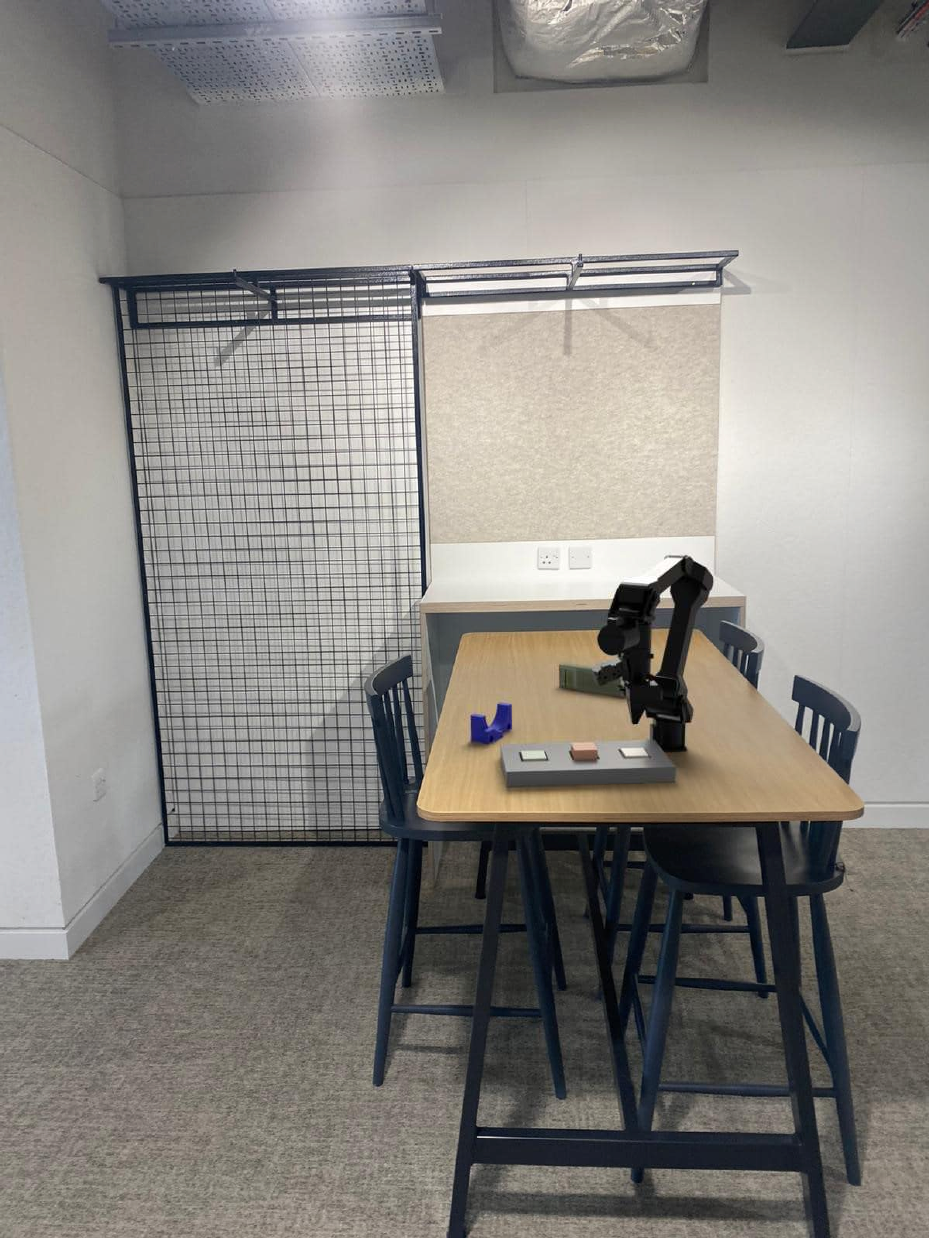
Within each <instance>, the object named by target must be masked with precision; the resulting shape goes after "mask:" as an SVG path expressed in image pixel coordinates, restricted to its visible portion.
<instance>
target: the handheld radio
mask: <svg viewBox="0 0 929 1238" xmlns="http://www.w3.org/2000/svg"><path fill="white" fill-rule="evenodd" d="M591 666H592V665H583V664H575V663H569V662H568V663H567V662H560V663H559V664H558V677H559V678H558V680H559V682H558V683H559V686H558V687H560V688H564V689H571V690H578V691H584V692H590V693H591V692H592V693H597V694H603V695H611V696H616V697H623V698H624V697H625V696H624V695H623V694H622V692H621V691H620V690H619V689H618V687H617V685H621V679H620V678H619V679H617V680H614V681H611V682H609V683H607V684H606V685H603V686H598V684H597V682H596V681H595V678H594V675H593V673H592V670H591ZM625 698H626V697H625Z"/></svg>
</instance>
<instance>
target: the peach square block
mask: <svg viewBox="0 0 929 1238" xmlns="http://www.w3.org/2000/svg"><path fill="white" fill-rule="evenodd" d="M585 742H586V743H571V754H572V756H573V758H574V760H593V759H598V750H597V748H596V746H595V744H594V742H593V741H585Z"/></svg>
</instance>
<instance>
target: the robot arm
mask: <svg viewBox="0 0 929 1238" xmlns="http://www.w3.org/2000/svg"><path fill="white" fill-rule="evenodd" d="M714 580H715V579H714V576H713V574H712V573H711V572H710V570H709V569H708V567H706V566H704V565H702V564H700V563H698V562H697V561H695V560H694V559H693V558H692V556H689V555H687V554H677V553H676V554H675V553H670V554H668V555H667V554H666V555H665V557H664V558H663V560H661V562H659V563H658V564H657V565H655V566H654V567H653V568H651V569H650V570H649V571H647V572H646V573H644V575H641V576H637V577H629V578H628V579H625V580H622V581H621V582H620V583H619V584H618V587H617V588H616V590H615V593H614V595H613V599H612V601H611V604H610V606H609V610H608V612H607V619H606V625H604V626H603V627H601V629H600V630H599V632H598V634H597V636H596V637H597V638H596V641H597V645H598V648H599V649H600V650H601V652H602V653H604V654H605V655H607V656H612V658H609V659H606V660H604V661H601V662H598V663H595V664H593V665H590V666H591V670H592V673H593V675H594V678H595V681H596V682H597V684H598V686H603V685H606V684H607V683H609V682H611V681H614V680H617V679H619V678H620V679H621V685H617V687H618V689H619V690H620V691H621V692H622V694H623V695H624V696H625V700H626V703H627V708H628V714H629V719H630V722H631V724H632V725H638V724H639V723H640V720H641V719H642V717H643V715H644V713H645V717H646V719H652V723H650V724H649V740H655V741H656V742H657V744H658V745H659V746H660V747H661V749H662V750H663V751H664V752H678V751H679V752H680V751H684V752H686V751H688V747H687V745H686V725H687V724H690V723H692V720H693V717H694V708H693V705H692V703H691V701H689V698H688V695H689V694H688V692H689V689H688V687H687V684H686V681H685V679H684V673H685V668H686V665H687V660H688V655H689V649H690V645H691V642H692V637H693V636H692V635H693V633H694V627H695V623H696V617H697V615H698V611H699V610H700V609H701V607H702V606H704V604H705V603H706V602H707V601H708V599H709V596H710V593H711V591H712V590H713V587H714ZM668 589H669V594H670V596H671V599H672V601H673V604H674V605H673V611H672V615H671V619H670V625H669V628H668V629H669V630H668V633H667V637H666V643H665V647H664V650H663V656H662V660H661V665H660V667H659V670H658V672H657V673H656V674H655V675H654V673H652V670H651V669H652V668H651V667H652V660H653V659H654V658H655V657H654V656H655V655H654V652H653V651H652V637H653V636H652V633H653V631H652V629H653V628H652V627H653V623H652V622H653V621H656V616H655V615H654V613H655V611H656V609H657V607H658V605H659V604H660V603H661V595H662V594H663V593H664V592H665V591H666V590H668ZM613 656H616V657H613Z"/></svg>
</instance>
